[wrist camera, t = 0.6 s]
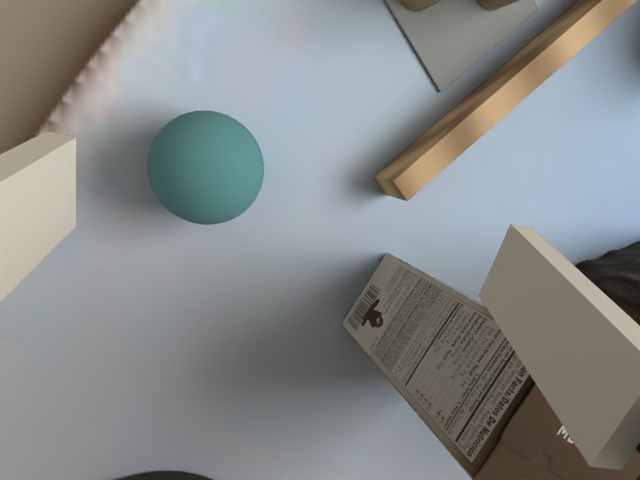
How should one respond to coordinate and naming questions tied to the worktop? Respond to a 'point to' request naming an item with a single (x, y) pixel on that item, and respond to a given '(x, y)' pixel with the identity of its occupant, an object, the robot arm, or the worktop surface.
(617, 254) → the carved bird figurine
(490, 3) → the pin
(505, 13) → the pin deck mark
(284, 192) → the worktop surface
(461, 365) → the coffee box
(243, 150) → the ball
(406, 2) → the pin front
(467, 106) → the lane
